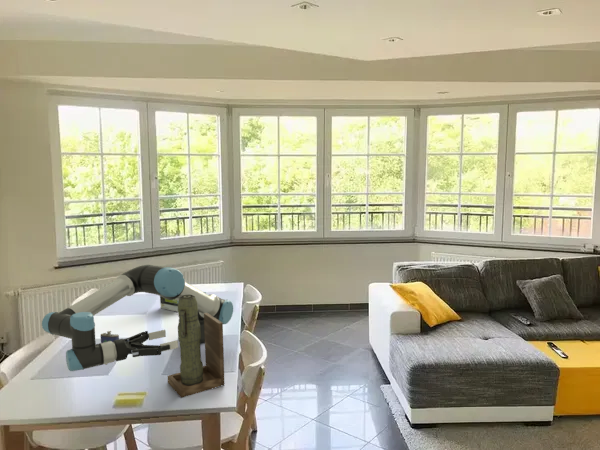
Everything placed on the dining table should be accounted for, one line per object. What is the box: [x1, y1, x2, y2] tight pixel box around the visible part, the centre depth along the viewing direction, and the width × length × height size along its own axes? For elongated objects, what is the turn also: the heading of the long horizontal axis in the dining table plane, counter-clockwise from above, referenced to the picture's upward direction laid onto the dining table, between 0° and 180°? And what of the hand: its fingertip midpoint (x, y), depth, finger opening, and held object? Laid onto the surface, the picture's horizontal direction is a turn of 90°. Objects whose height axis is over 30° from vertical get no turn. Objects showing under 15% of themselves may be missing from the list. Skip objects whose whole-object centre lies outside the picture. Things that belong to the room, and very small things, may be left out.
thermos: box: [177, 295, 204, 385], centre depth 193 cm, size 9×12×35 cm
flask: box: [100, 330, 120, 343], centre depth 224 cm, size 9×3×11 cm, turn 78°
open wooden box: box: [167, 313, 226, 399], centre depth 192 cm, size 18×15×26 cm
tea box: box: [159, 296, 178, 313], centre depth 289 cm, size 15×10×15 cm, turn 58°
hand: (171, 338), depth 186 cm, fingers open, 13 cm apart
